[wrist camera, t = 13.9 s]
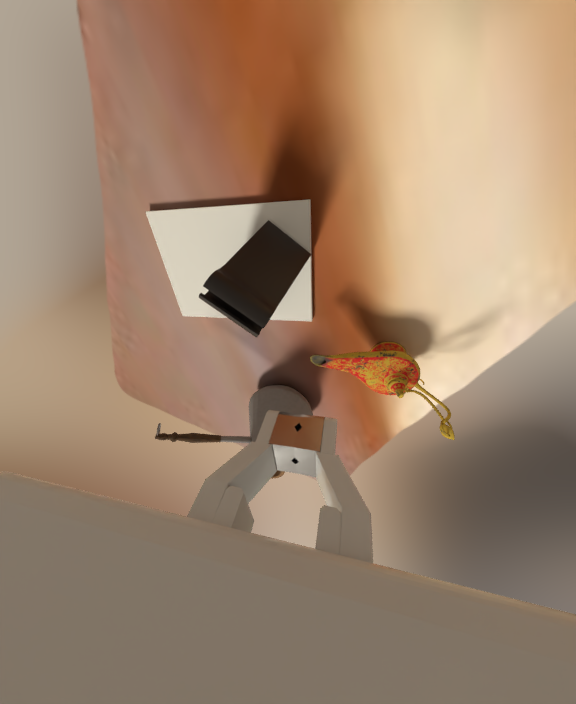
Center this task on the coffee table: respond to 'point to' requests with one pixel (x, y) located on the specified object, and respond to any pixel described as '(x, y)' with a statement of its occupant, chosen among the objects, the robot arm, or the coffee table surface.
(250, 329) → the phone stand
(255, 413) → the coffee pot
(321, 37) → the coffee table surface
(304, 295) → the mat
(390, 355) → the magic lamp
